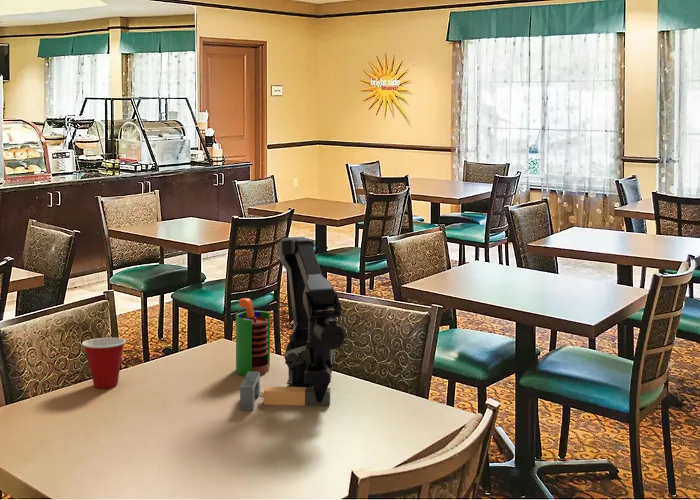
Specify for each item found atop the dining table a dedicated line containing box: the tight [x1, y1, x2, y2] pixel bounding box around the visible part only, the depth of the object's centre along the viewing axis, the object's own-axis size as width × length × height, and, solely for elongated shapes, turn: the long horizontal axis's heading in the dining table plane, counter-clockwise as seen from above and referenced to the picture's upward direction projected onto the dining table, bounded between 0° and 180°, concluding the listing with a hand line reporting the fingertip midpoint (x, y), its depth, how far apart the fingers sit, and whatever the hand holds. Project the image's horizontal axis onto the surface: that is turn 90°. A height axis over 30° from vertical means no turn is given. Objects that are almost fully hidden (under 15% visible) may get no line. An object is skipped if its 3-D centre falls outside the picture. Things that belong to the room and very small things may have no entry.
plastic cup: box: [81, 337, 127, 390], centre depth 202 cm, size 11×11×12 cm
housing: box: [239, 371, 261, 411], centre depth 192 cm, size 3×11×6 cm, turn 178°
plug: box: [259, 386, 332, 407], centre depth 192 cm, size 17×3×3 cm, turn 88°
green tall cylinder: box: [235, 297, 271, 377], centre depth 214 cm, size 10×9×20 cm
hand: (319, 399), depth 191 cm, fingers closed on plug, 3 cm apart
